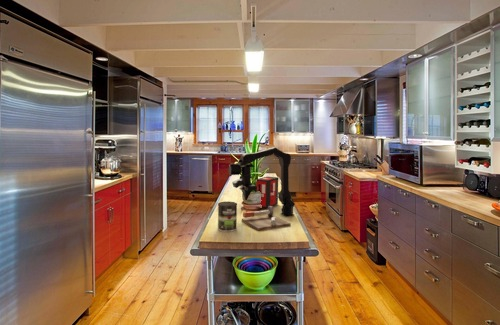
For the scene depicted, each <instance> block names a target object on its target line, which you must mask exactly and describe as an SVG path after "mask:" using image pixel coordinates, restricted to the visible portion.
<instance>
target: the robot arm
mask: <svg viewBox="0 0 500 325" xmlns="http://www.w3.org/2000/svg"><path fill="white" fill-rule="evenodd" d="M272 155H273V156H275V157H276V158H278V162H279V166H280V183H281V186H280V187H281V188H280V191H278V202H279V201H280V204H282V205H281V206H282V207H281V213H280V215H282V216H284V217H291V216H292V217H293V216H295V214H294V207H295V205H296V203H295V202H294V201H293V200H292V195H291V192H290V190H289V188H290V187H289V186H290V182H289V174H290V173H289V167H290V165H291V160H292V156H291V154H290V153H287V152H284V151H282V150H280V149H279V148H277V147H275V146H274V147H270V148H266V149H264V150H260V151H256V152H246V153H245V152H243V153H242V154H241V156H240V159H238V161H237V163H229V167H228V174H229V176H239V178H238V179H236V180H233V181H232V182H231V183H232V186H233V188H234V189H237V188H239V190H240V191H242V196H243V198H244V201H247V200H248V199H249V196H250V195H251V192H256V191H257V186H256V184H253V182H252V179H253V176H252V168H255V165H254V164H253V163H254V162H255V161H256V160H258V159H262V158H265V157H269V156H272Z"/></svg>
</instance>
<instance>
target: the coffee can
mask: <svg viewBox="0 0 500 325" xmlns="http://www.w3.org/2000/svg"><path fill="white" fill-rule="evenodd" d="M217 206H218V208H217V210H218V211H217V215H218V216H217V230H218V231H220V232H224V233H229V232H234V231H236V230H237V220H238V219H237V218H238V217H237V216H238V215H237V214H238V212H237V211H238V203H237V202H235V201H221V202H217Z"/></svg>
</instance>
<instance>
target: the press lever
mask: <svg viewBox="0 0 500 325" xmlns="http://www.w3.org/2000/svg"><path fill="white" fill-rule="evenodd" d="M264 215H268V217H273V215H274V207H273V206H268V209H263V210H259V211H256V210H255V211H253V210H250V211H243V212H242V217H243V218H250V217H256V216H264Z"/></svg>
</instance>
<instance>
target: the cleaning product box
mask: <svg viewBox="0 0 500 325" xmlns="http://www.w3.org/2000/svg"><path fill="white" fill-rule="evenodd" d="M256 179H257V182H256V181H255V186H257V191H260V192H261V194H262V195H261V200H262V201H261V205H262V209H263V210H268V206H273V208H274V207H276V206H278V205H279V198H278V192H279V177H278V176H277V177H276V176H264V177H259V178H256ZM262 209H261V210H262Z"/></svg>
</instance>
